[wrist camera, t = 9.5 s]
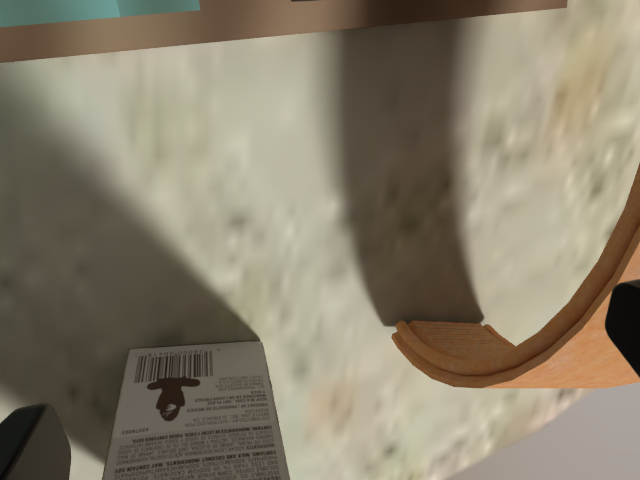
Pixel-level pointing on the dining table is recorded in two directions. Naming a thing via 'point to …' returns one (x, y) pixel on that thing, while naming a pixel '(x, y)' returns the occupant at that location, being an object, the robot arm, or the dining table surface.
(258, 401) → the coffee box
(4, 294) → the dining table surface
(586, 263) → the dining table surface
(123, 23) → the dock
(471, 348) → the arch
